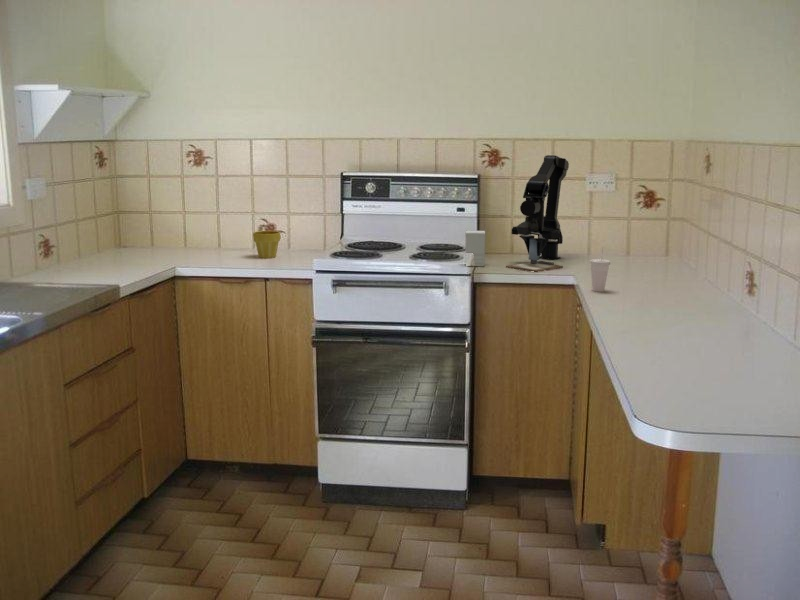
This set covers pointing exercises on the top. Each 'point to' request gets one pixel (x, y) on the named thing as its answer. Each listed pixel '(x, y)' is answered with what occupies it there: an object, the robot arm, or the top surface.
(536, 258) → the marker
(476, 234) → the supplement box
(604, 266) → the smoothie
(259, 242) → the plant pot
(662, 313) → the top surface
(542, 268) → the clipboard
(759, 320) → the top surface
